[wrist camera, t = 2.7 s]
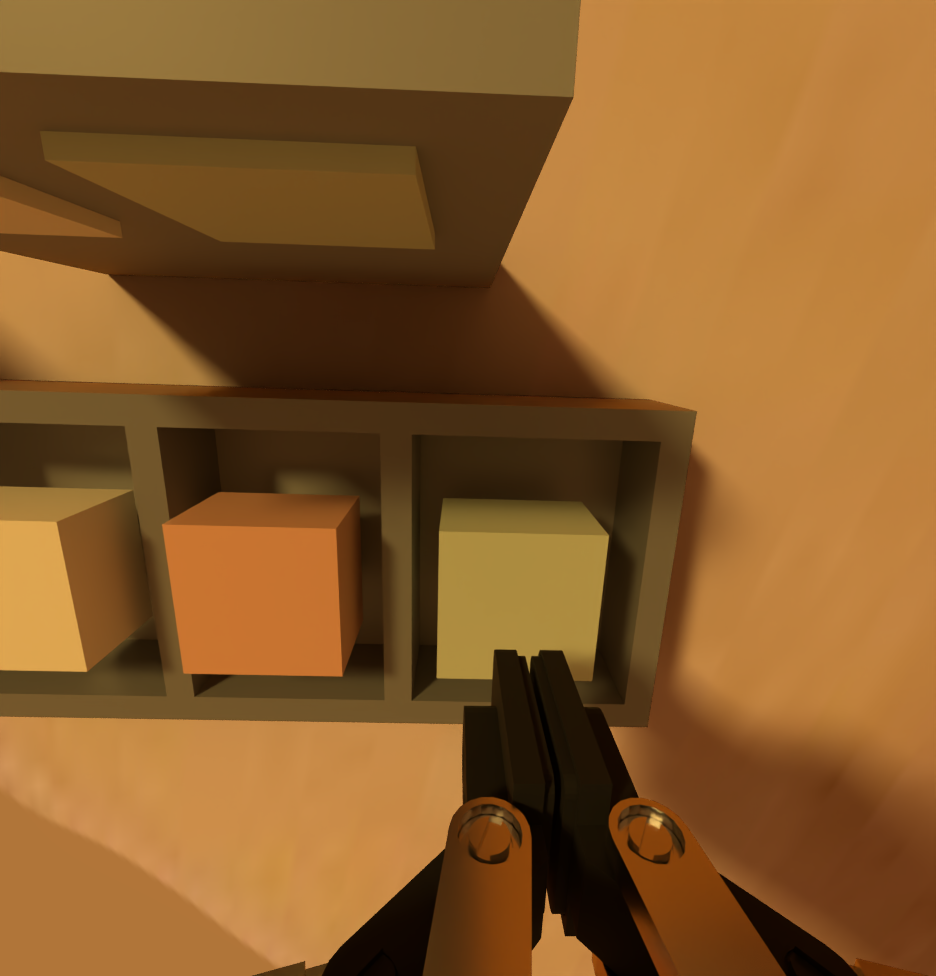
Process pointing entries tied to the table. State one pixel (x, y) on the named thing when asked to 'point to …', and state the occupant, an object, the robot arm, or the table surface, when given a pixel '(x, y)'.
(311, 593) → the terracotta key
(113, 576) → the tan square block
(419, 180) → the card
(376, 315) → the table surface
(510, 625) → the olive square block
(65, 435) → the key pad frame
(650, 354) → the table surface
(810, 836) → the table surface
